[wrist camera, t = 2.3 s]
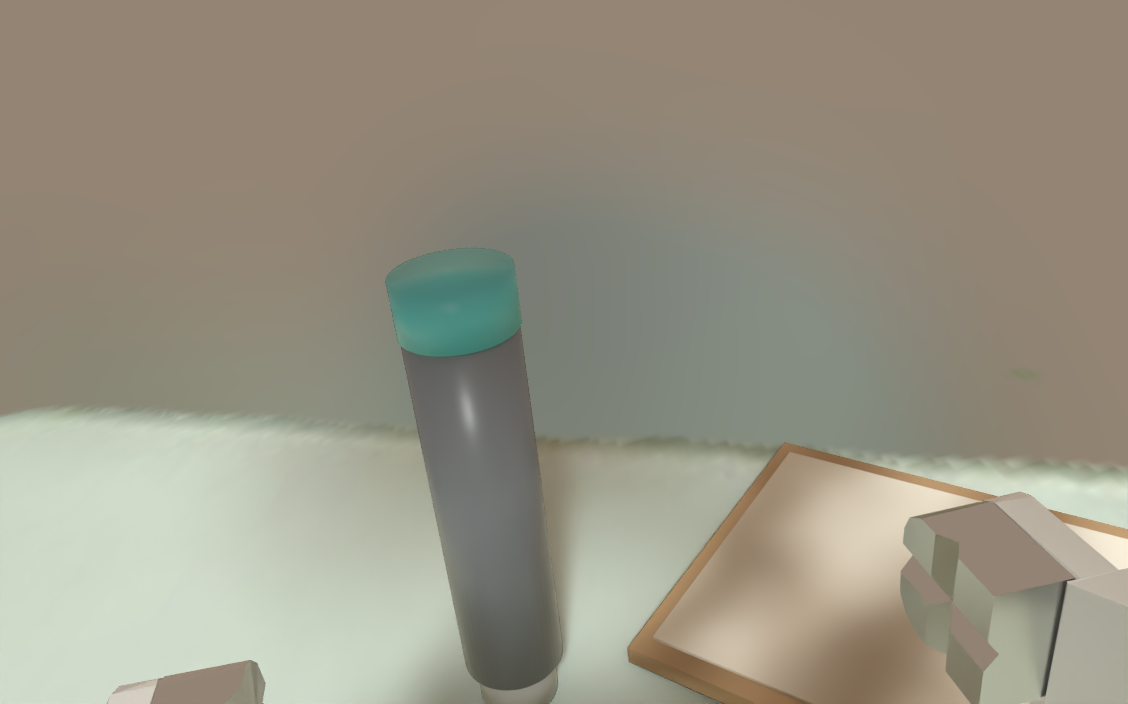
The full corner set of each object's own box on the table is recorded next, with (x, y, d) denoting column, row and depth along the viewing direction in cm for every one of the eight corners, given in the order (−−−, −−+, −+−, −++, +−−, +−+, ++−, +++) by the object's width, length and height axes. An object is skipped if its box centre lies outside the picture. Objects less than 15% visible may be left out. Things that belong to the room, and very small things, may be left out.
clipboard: (628, 661, 27) (625, 624, 27) (784, 454, 37) (785, 422, 36) (1344, 976, 18) (1369, 932, 17) (1310, 591, 27) (1326, 552, 27)
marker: (450, 701, 27) (358, 285, 20) (510, 635, 29) (444, 242, 23) (530, 743, 25) (456, 306, 19) (587, 670, 27) (540, 257, 21)
